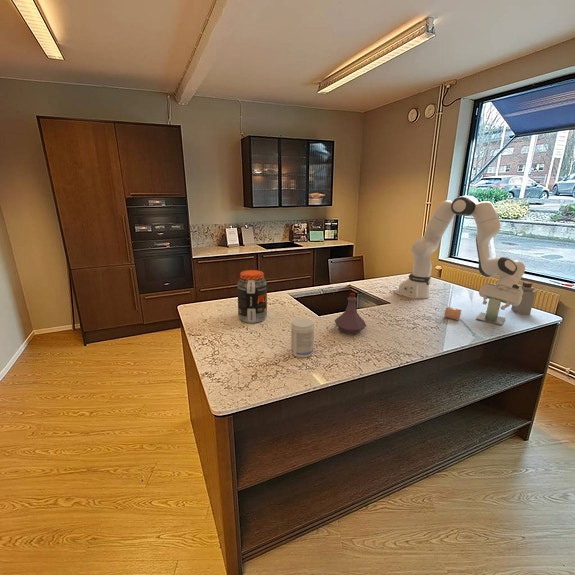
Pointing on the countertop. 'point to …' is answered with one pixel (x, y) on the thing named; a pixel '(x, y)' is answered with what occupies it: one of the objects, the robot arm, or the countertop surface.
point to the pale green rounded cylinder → (493, 308)
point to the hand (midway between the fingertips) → (492, 306)
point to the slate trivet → (497, 322)
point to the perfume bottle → (525, 299)
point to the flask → (350, 318)
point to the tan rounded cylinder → (452, 313)
